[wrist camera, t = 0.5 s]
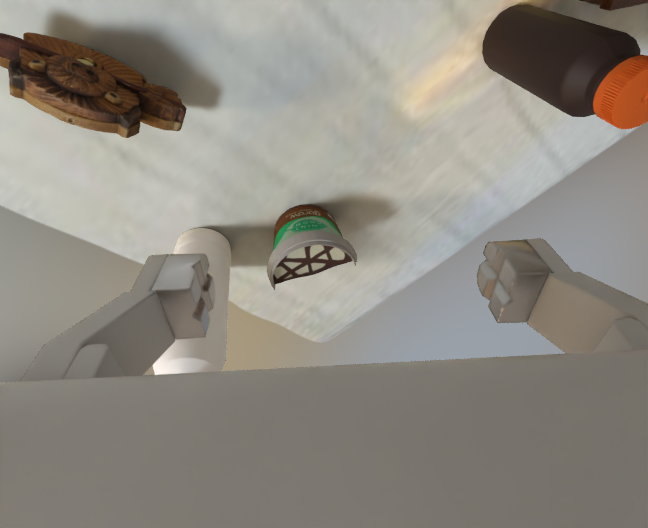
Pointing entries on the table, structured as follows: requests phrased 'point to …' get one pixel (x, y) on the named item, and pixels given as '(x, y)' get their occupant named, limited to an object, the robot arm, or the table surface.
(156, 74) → the table surface
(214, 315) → the bottle
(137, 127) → the wooden carving
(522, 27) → the vinegar
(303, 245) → the food container
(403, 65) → the table surface
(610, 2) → the stand
